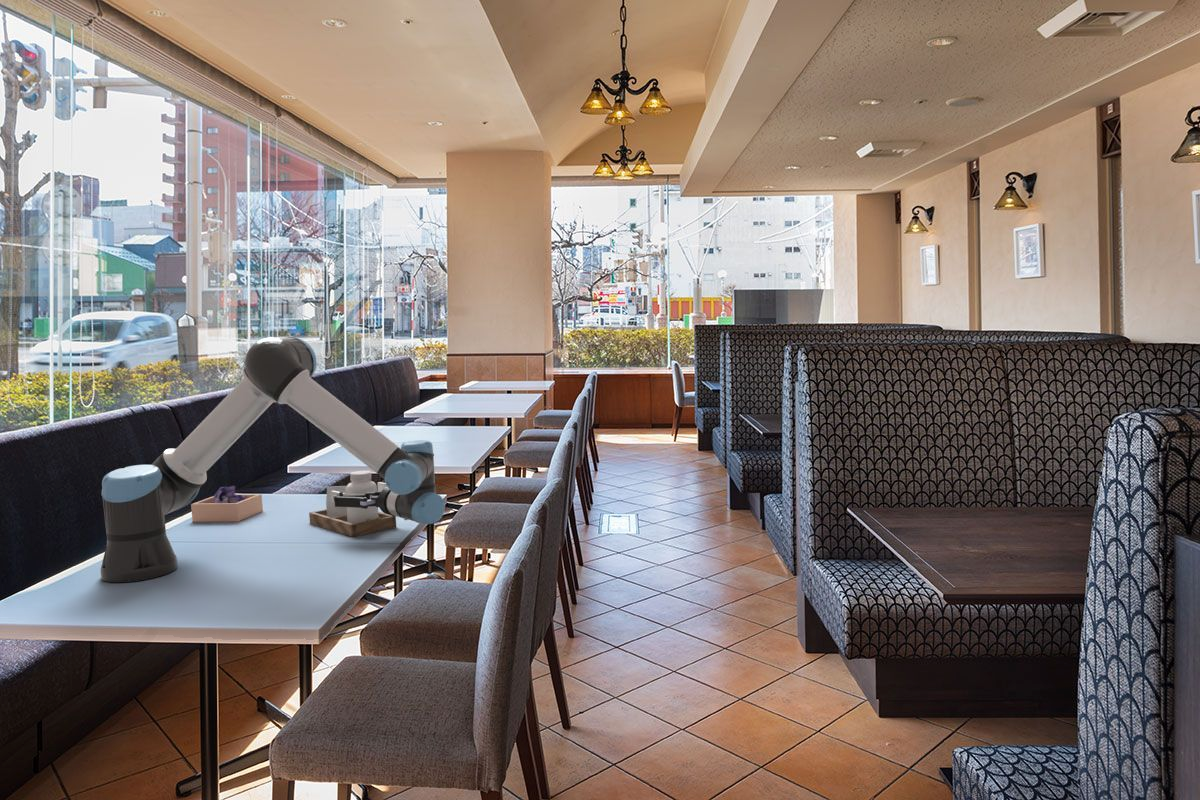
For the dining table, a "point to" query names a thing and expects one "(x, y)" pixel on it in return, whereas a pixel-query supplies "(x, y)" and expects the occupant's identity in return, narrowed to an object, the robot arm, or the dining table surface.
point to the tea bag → (330, 505)
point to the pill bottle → (361, 486)
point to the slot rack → (350, 529)
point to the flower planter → (226, 509)
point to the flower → (227, 495)
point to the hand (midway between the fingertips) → (356, 491)
